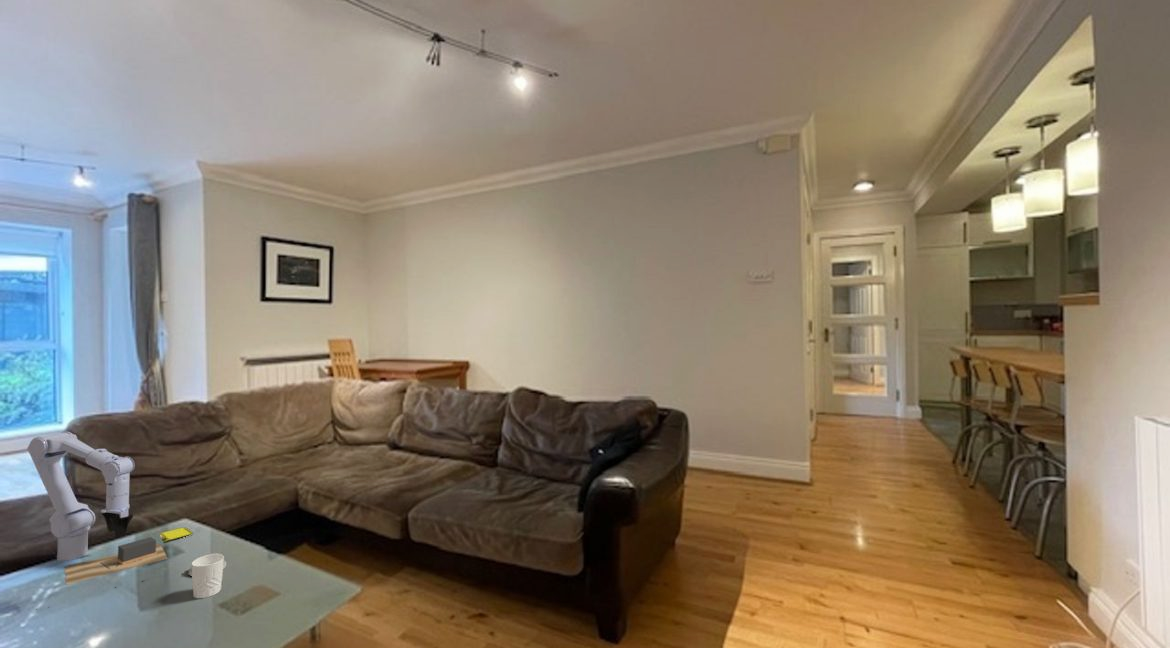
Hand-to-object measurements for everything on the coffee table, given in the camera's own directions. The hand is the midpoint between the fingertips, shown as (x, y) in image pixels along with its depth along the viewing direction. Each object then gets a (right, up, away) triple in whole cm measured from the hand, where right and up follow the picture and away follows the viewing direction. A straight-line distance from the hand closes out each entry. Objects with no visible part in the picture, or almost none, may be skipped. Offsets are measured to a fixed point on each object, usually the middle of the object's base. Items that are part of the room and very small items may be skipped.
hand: (116, 533), depth 168 cm
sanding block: (+7, -8, 0) cm, 11 cm away
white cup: (+45, -10, -18) cm, 50 cm away
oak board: (+4, -9, -3) cm, 11 cm away
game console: (0, -10, +18) cm, 20 cm away
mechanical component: (+35, -11, -5) cm, 37 cm away
